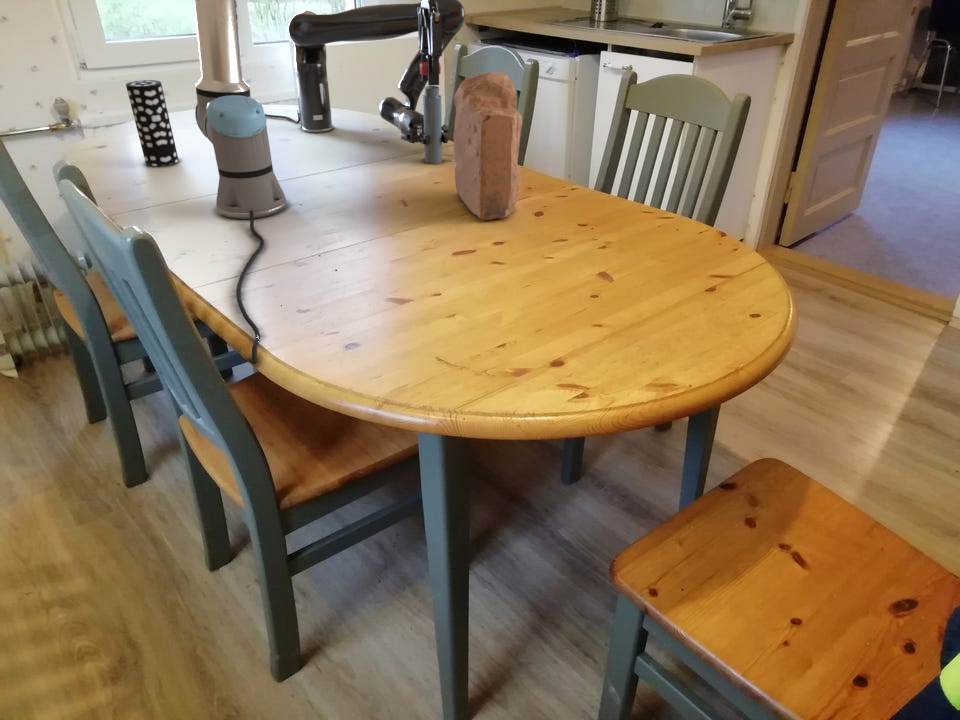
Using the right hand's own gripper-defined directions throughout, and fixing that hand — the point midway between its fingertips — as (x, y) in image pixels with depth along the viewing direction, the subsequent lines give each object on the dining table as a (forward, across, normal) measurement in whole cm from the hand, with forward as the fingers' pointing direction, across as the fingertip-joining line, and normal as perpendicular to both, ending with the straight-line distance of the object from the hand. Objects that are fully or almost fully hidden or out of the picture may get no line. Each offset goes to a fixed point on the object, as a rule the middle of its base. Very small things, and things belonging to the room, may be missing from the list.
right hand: (436, 140), depth 184 cm
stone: (+34, -1, +6) cm, 35 cm away
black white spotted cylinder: (-30, -68, -4) cm, 74 cm away
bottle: (-3, 0, +6) cm, 7 cm away
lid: (-3, 0, -18) cm, 19 cm away
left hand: (-3, 0, -14) cm, 14 cm away
